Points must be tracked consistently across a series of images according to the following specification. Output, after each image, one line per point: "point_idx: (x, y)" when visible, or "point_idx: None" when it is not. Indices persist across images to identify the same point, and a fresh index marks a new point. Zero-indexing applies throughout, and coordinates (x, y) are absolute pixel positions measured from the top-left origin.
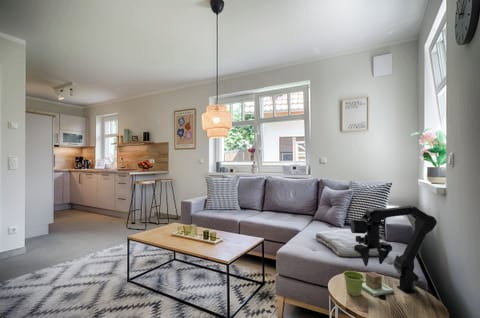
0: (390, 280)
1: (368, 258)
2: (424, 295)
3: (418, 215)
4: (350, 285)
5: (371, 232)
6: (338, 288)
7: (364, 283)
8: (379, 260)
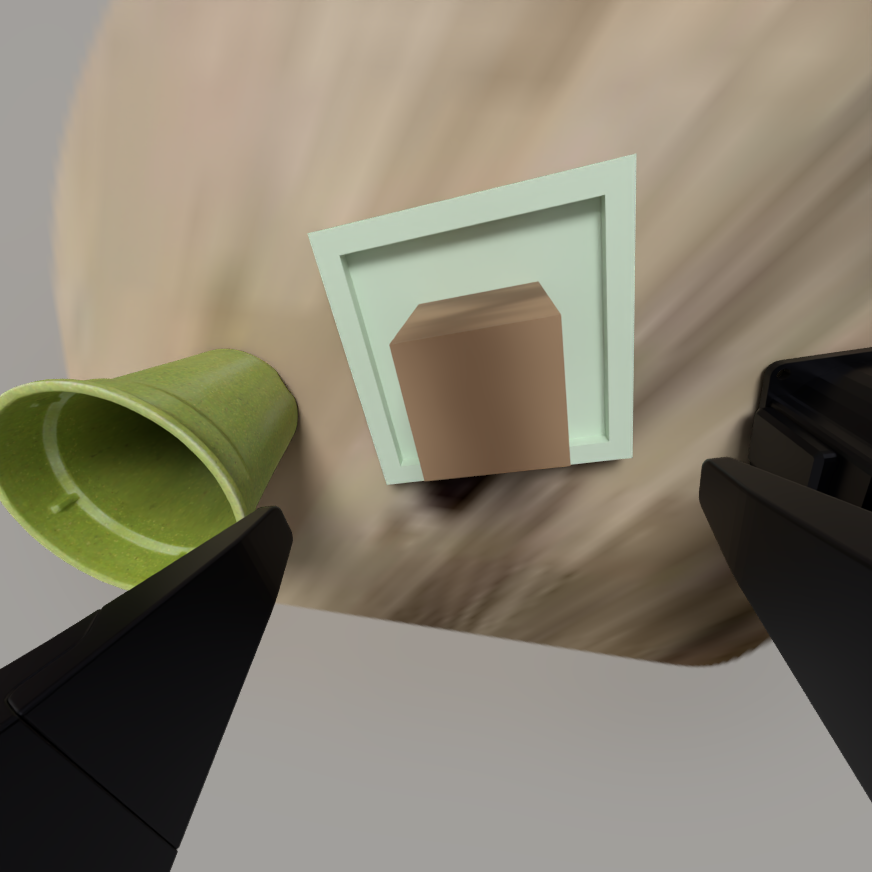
0: None
1: (180, 811)
2: None
3: None
4: (138, 490)
5: None
6: (119, 307)
7: (421, 270)
8: (746, 515)
